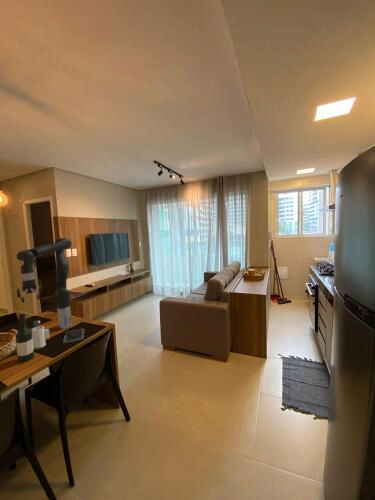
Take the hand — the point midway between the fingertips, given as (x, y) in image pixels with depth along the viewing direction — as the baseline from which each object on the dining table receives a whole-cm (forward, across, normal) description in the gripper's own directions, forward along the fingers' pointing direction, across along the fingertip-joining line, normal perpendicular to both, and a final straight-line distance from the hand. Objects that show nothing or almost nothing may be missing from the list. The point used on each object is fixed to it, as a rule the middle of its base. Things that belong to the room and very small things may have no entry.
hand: (31, 301), depth 152 cm
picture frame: (+32, -24, +6) cm, 41 cm away
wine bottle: (+32, +4, +21) cm, 38 cm away
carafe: (+31, -4, +7) cm, 32 cm away
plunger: (+26, -3, +7) cm, 27 cm away
